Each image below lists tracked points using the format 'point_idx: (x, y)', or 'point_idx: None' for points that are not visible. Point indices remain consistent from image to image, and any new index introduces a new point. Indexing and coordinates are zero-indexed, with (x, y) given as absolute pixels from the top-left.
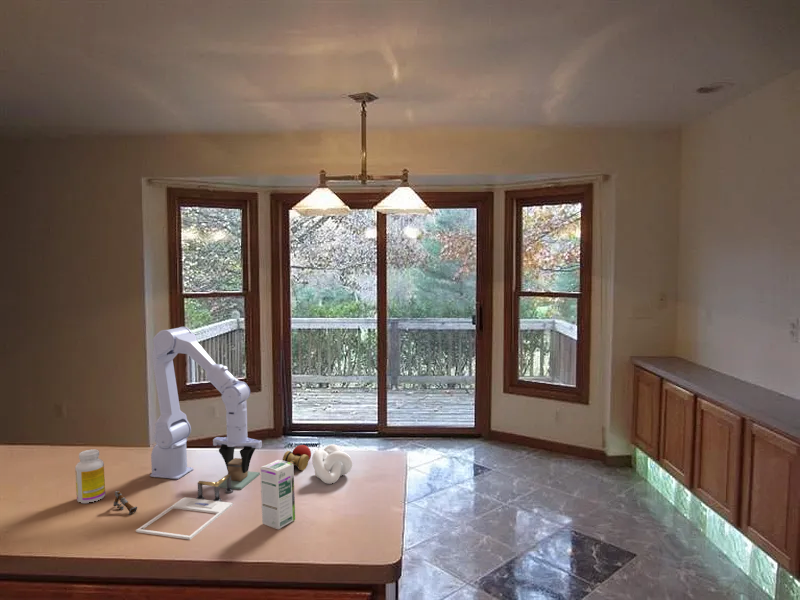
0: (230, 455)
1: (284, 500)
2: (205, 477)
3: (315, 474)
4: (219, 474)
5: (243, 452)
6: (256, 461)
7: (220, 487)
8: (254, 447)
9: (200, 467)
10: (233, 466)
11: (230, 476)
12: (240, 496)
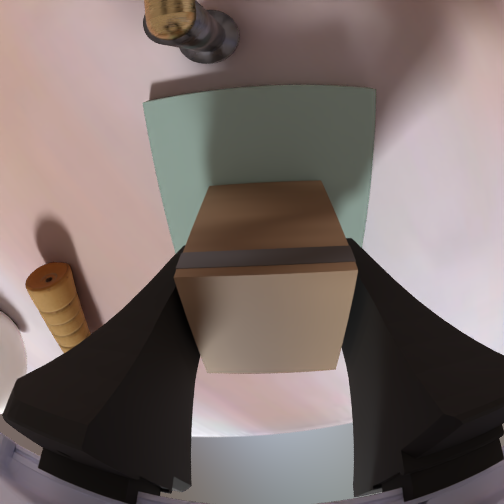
0: (367, 377)
1: None
2: (476, 217)
3: (2, 320)
4: (420, 266)
5: (30, 406)
6: (301, 389)
7: (328, 85)
8: (29, 456)
9: (500, 298)
10: (273, 250)
11: (145, 21)
12: (91, 23)
